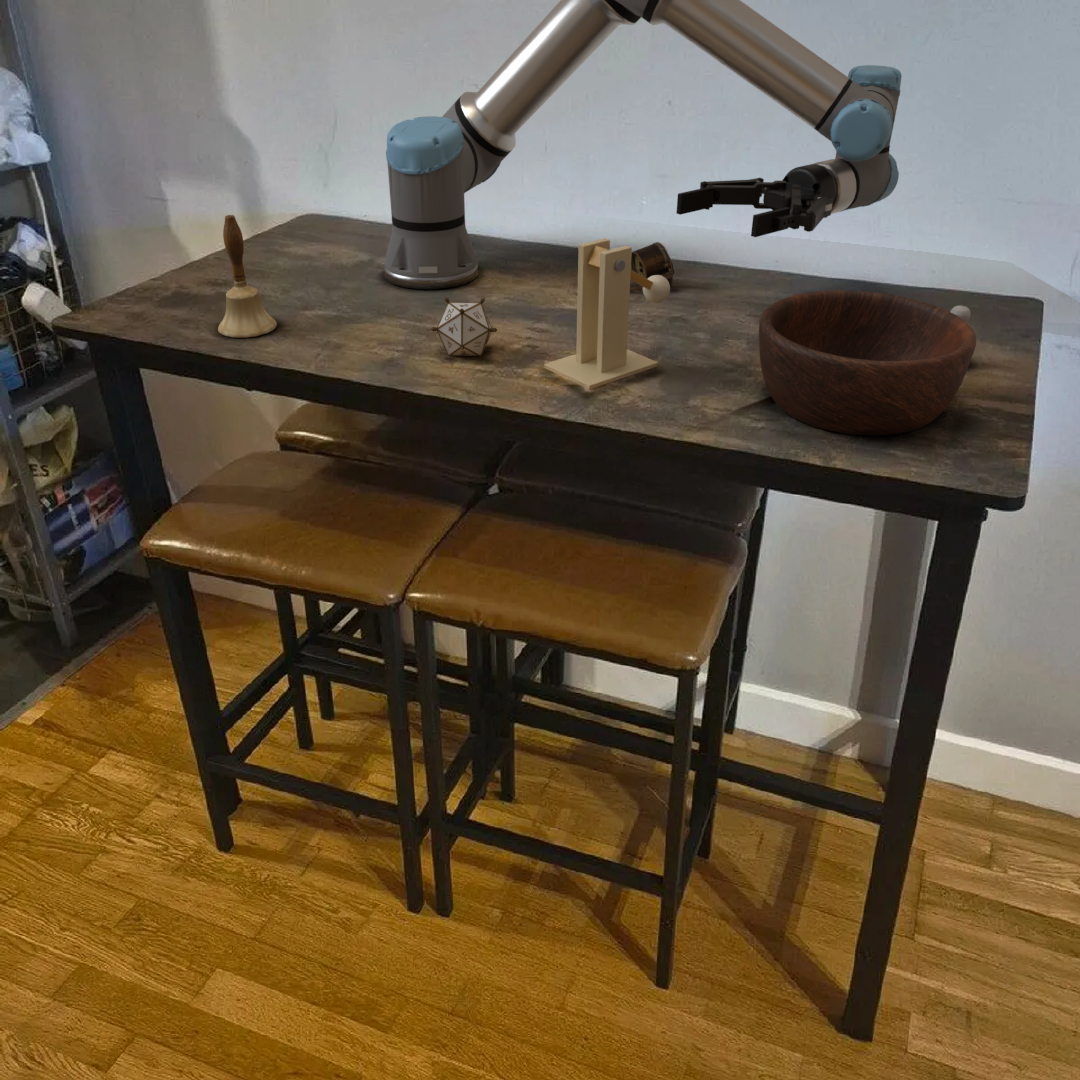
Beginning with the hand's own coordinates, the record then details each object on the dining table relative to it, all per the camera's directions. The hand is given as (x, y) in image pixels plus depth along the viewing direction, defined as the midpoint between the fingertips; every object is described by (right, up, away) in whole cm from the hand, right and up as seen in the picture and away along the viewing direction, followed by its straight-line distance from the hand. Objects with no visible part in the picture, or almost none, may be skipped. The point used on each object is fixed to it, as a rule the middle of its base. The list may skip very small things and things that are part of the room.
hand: (715, 214), depth 142 cm
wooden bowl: (+15, -27, -10) cm, 32 cm away
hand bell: (-66, -13, +11) cm, 68 cm away
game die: (-34, -19, +2) cm, 39 cm away
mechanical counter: (-9, -4, +26) cm, 28 cm away
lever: (-12, -11, -6) cm, 18 cm away
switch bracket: (-15, -22, -2) cm, 27 cm away
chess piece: (+32, -20, +1) cm, 37 cm away
